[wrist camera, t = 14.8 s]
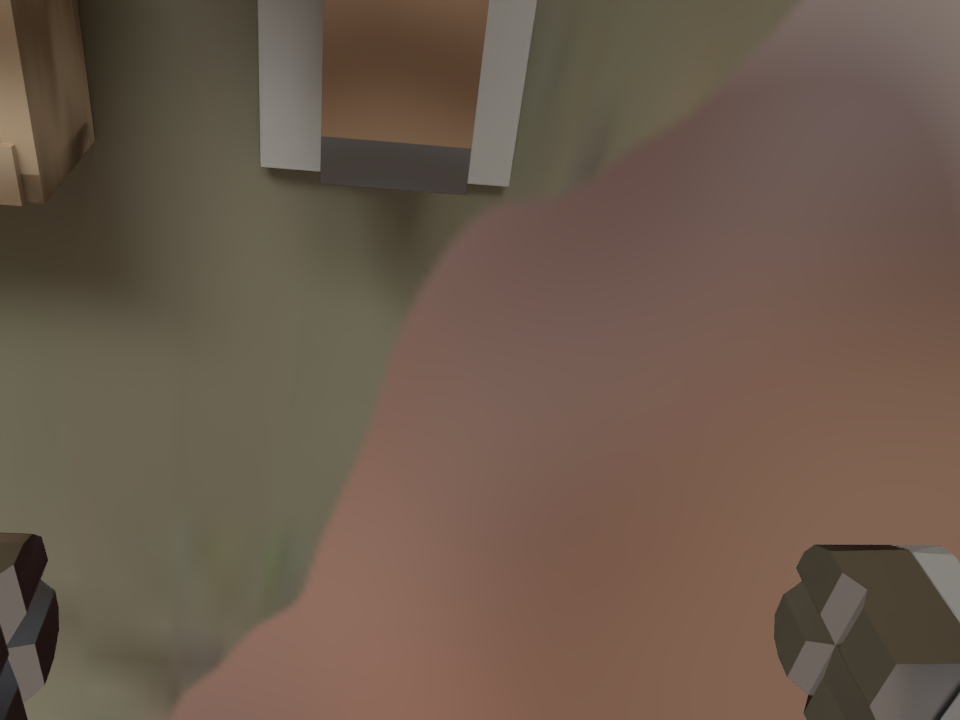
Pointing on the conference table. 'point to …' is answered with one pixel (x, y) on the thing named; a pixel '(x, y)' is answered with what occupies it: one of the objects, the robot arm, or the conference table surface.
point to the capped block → (400, 92)
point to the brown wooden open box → (41, 98)
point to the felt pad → (298, 86)
